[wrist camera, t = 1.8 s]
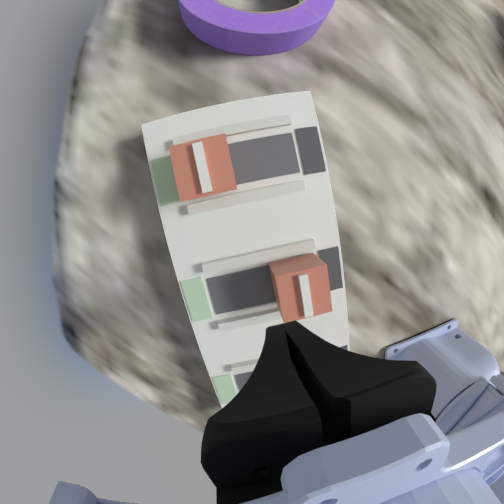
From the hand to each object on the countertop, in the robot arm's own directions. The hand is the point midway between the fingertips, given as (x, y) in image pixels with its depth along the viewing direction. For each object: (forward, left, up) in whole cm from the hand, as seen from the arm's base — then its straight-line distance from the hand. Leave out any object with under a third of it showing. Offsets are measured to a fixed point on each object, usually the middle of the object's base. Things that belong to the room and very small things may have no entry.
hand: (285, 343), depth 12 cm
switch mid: (-2, 0, -7) cm, 7 cm away
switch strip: (0, 0, -10) cm, 10 cm away
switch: (+2, -8, -7) cm, 11 cm away
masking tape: (-4, -22, -10) cm, 25 cm away
